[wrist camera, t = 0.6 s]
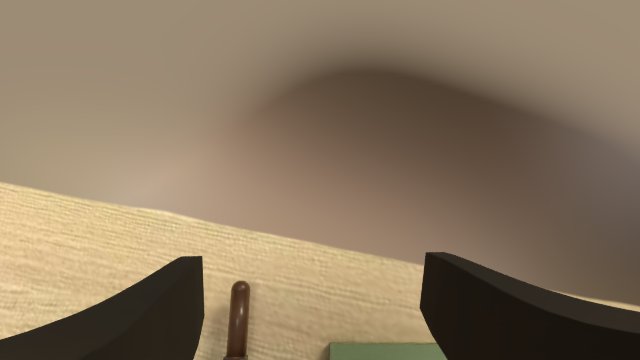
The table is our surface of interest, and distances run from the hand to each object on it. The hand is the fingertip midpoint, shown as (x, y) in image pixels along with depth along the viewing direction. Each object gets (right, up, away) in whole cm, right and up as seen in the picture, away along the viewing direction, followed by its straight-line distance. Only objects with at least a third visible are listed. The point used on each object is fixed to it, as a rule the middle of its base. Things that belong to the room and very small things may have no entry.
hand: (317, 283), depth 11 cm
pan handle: (-7, -9, +20) cm, 23 cm away
